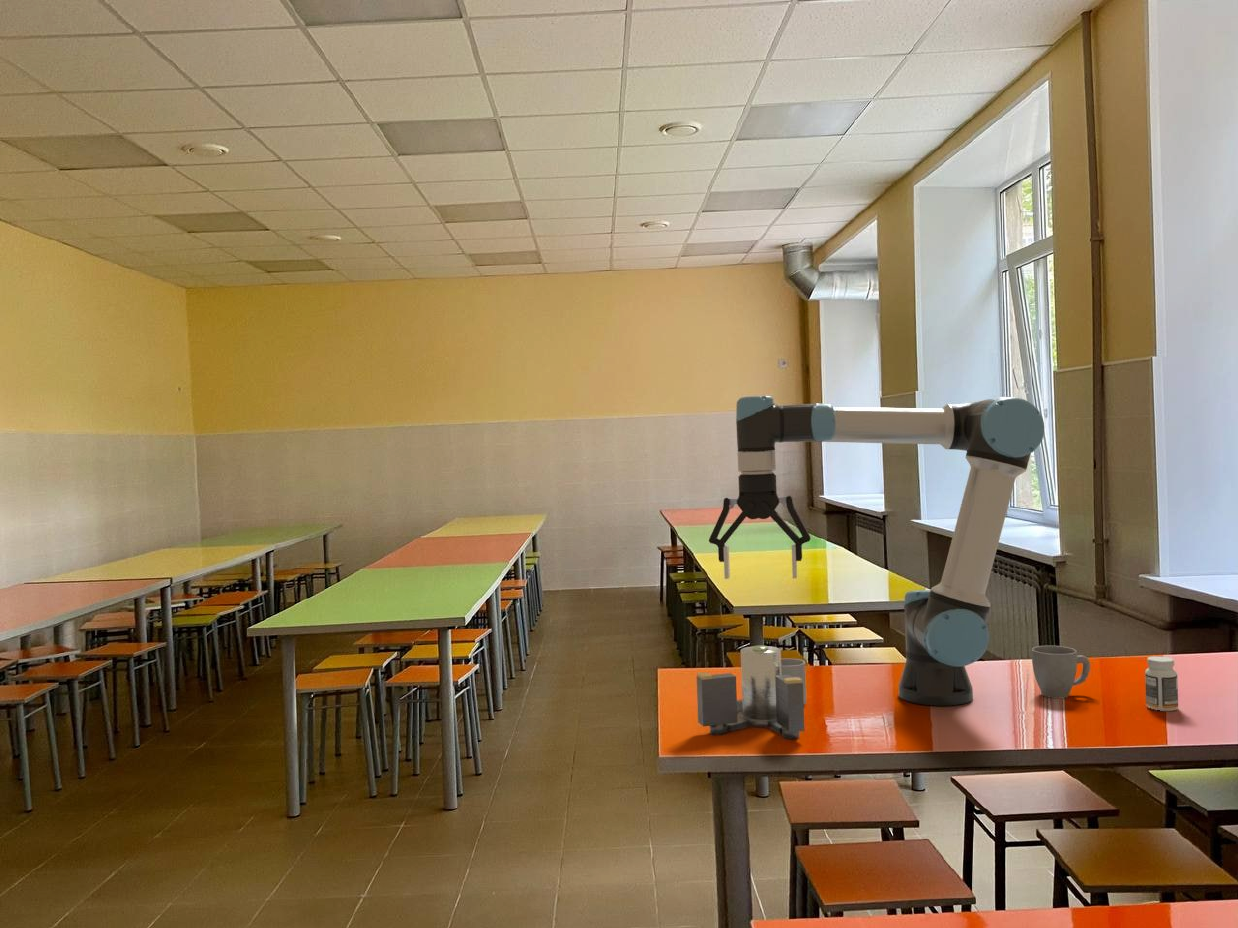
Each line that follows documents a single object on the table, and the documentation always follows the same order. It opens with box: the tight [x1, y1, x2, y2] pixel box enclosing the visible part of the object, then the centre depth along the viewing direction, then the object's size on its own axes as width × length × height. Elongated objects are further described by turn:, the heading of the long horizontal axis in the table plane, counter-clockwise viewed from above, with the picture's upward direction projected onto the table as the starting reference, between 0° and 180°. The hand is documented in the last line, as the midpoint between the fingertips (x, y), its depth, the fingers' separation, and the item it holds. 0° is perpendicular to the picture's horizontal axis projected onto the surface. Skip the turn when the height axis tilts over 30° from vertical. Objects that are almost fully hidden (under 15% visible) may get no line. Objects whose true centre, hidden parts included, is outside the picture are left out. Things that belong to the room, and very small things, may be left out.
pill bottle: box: [1144, 656, 1179, 712], centre depth 197 cm, size 6×6×10 cm
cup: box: [781, 658, 807, 706], centre depth 210 cm, size 7×10×9 cm
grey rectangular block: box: [775, 675, 805, 740], centre depth 187 cm, size 7×3×12 cm, turn 10°
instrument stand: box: [726, 645, 782, 735], centre depth 198 cm, size 13×16×15 cm
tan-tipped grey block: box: [696, 672, 738, 736], centre depth 191 cm, size 7×3×12 cm, turn 104°
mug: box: [1031, 645, 1091, 699], centre depth 210 cm, size 12×9×10 cm
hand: (760, 577), depth 200 cm, fingers open, 13 cm apart
